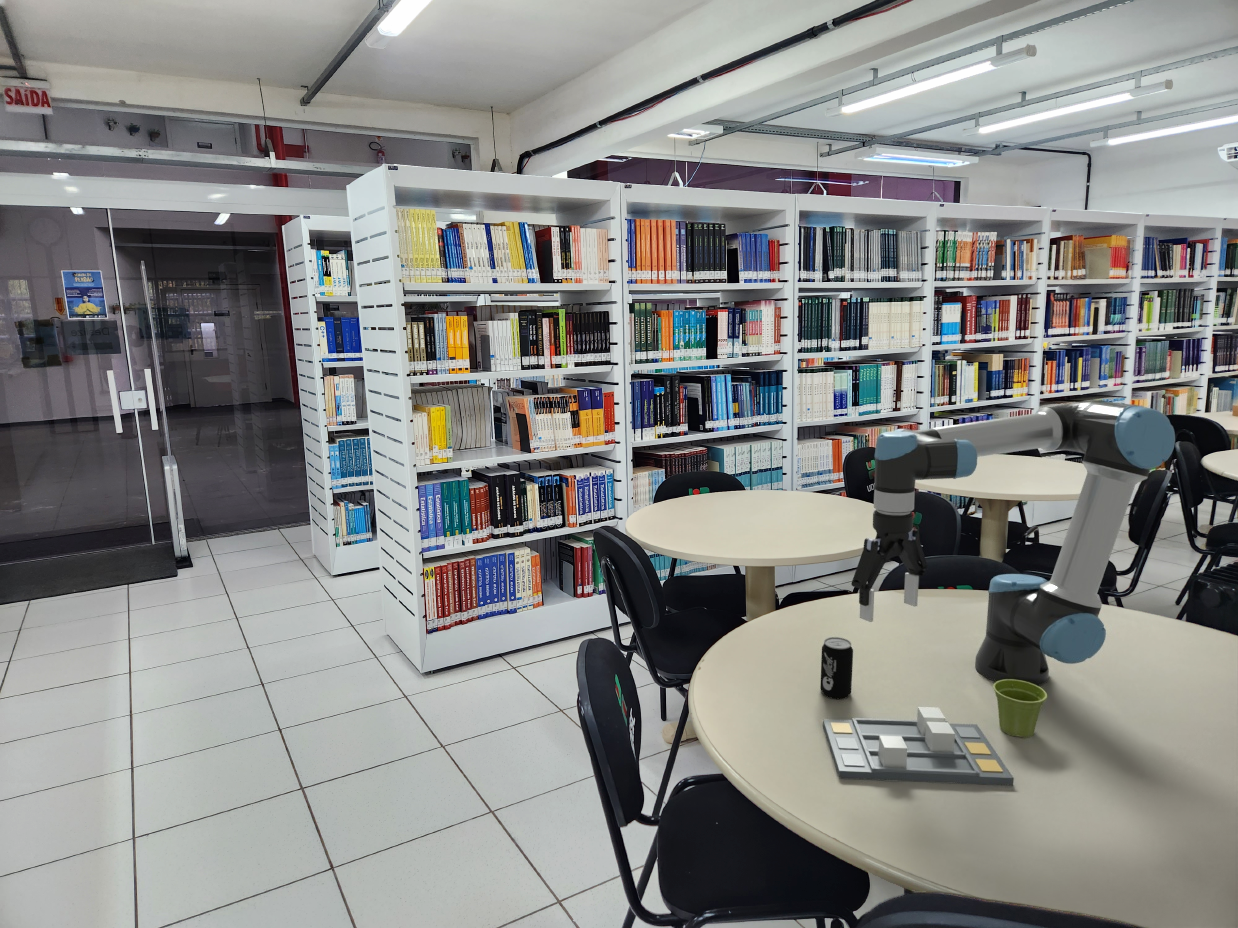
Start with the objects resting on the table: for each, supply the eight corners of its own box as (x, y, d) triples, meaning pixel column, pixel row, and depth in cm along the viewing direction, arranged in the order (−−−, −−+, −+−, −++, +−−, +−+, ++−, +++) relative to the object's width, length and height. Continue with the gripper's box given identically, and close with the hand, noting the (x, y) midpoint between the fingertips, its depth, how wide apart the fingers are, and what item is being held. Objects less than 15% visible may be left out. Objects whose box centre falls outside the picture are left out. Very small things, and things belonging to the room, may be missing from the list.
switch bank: (976, 731, 152) (977, 721, 152) (1013, 785, 135) (1014, 774, 134) (822, 725, 155) (823, 716, 155) (839, 778, 138) (839, 767, 137)
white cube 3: (900, 755, 142) (901, 736, 141) (906, 768, 138) (907, 748, 137) (878, 754, 142) (879, 735, 141) (883, 767, 138) (884, 747, 137)
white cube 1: (937, 726, 151) (938, 707, 151) (943, 736, 148) (945, 717, 147) (916, 725, 152) (917, 706, 151) (922, 736, 148) (923, 717, 147)
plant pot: (1022, 747, 146) (1026, 706, 145) (979, 725, 155) (983, 685, 153) (1053, 735, 151) (1057, 694, 149) (1010, 713, 159) (1013, 675, 157)
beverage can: (852, 701, 165) (854, 649, 162) (821, 699, 166) (822, 647, 164) (849, 687, 171) (852, 637, 169) (819, 685, 172) (821, 635, 170)
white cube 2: (946, 741, 146) (948, 722, 145) (953, 753, 142) (955, 733, 141) (925, 740, 146) (926, 721, 146) (931, 752, 142) (932, 732, 142)
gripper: (917, 497, 160) (912, 593, 165) (834, 516, 147) (831, 620, 151) (949, 504, 154) (943, 603, 158) (865, 524, 141) (862, 632, 145)
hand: (888, 611), depth 155 cm, fingers open, 13 cm apart
